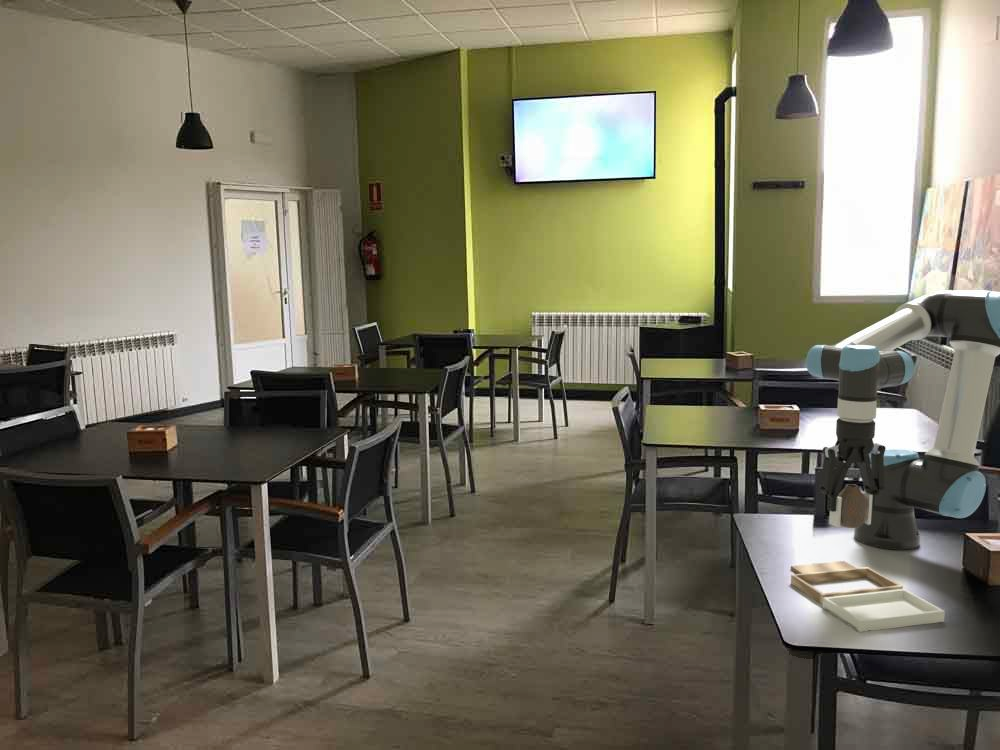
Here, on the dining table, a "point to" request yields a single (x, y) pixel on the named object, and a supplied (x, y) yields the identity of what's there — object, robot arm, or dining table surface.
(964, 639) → the dining table surface
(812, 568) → the lid
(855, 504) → the vase
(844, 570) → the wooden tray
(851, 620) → the off-white tray
